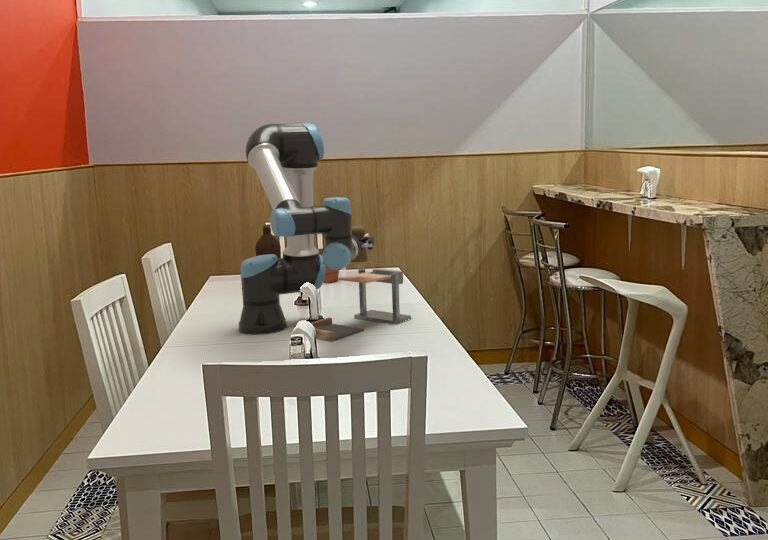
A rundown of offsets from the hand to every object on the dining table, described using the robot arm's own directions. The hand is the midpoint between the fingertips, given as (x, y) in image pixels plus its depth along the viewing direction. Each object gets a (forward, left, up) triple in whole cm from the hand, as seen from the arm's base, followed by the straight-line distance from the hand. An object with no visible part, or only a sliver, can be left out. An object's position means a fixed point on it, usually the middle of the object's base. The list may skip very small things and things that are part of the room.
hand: (360, 237), depth 239 cm
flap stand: (+2, +7, -28) cm, 29 cm away
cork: (+3, -5, -7) cm, 9 cm away
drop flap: (+2, +2, -16) cm, 16 cm away
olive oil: (-80, +33, -28) cm, 90 cm away
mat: (+1, -15, -28) cm, 32 cm away
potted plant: (-62, +49, -28) cm, 83 cm away
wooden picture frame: (0, -15, -28) cm, 32 cm away
